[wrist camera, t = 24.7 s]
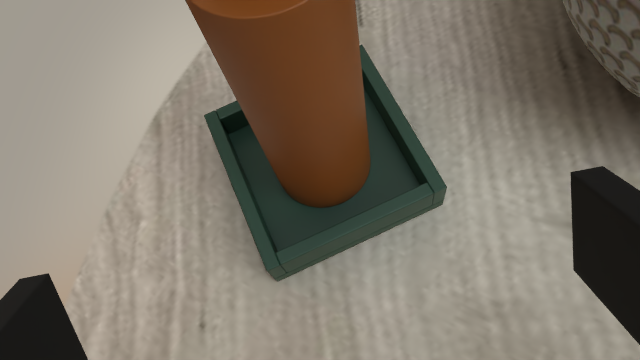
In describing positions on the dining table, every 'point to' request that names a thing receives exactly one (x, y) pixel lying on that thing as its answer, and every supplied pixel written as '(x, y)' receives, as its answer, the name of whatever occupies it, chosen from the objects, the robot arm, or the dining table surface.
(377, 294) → the dining table surface
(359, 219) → the tray
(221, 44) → the bottle
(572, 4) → the planter
